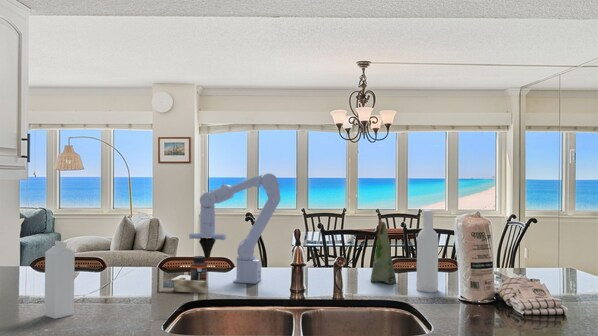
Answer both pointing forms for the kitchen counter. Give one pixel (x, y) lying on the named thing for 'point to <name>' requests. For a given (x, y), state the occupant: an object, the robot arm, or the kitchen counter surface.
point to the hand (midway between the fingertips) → (207, 257)
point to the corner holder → (190, 285)
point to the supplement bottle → (199, 269)
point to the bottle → (427, 255)
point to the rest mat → (182, 277)
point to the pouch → (383, 258)
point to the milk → (59, 281)
